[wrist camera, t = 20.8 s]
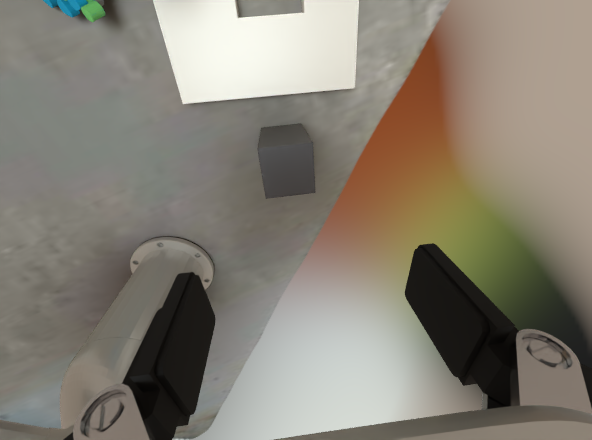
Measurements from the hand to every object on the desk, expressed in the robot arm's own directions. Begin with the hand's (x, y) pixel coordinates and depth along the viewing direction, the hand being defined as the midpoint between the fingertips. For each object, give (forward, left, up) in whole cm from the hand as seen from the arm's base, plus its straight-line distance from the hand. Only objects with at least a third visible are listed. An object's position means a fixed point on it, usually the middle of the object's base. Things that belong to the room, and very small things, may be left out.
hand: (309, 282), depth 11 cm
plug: (0, 0, -24) cm, 24 cm away
